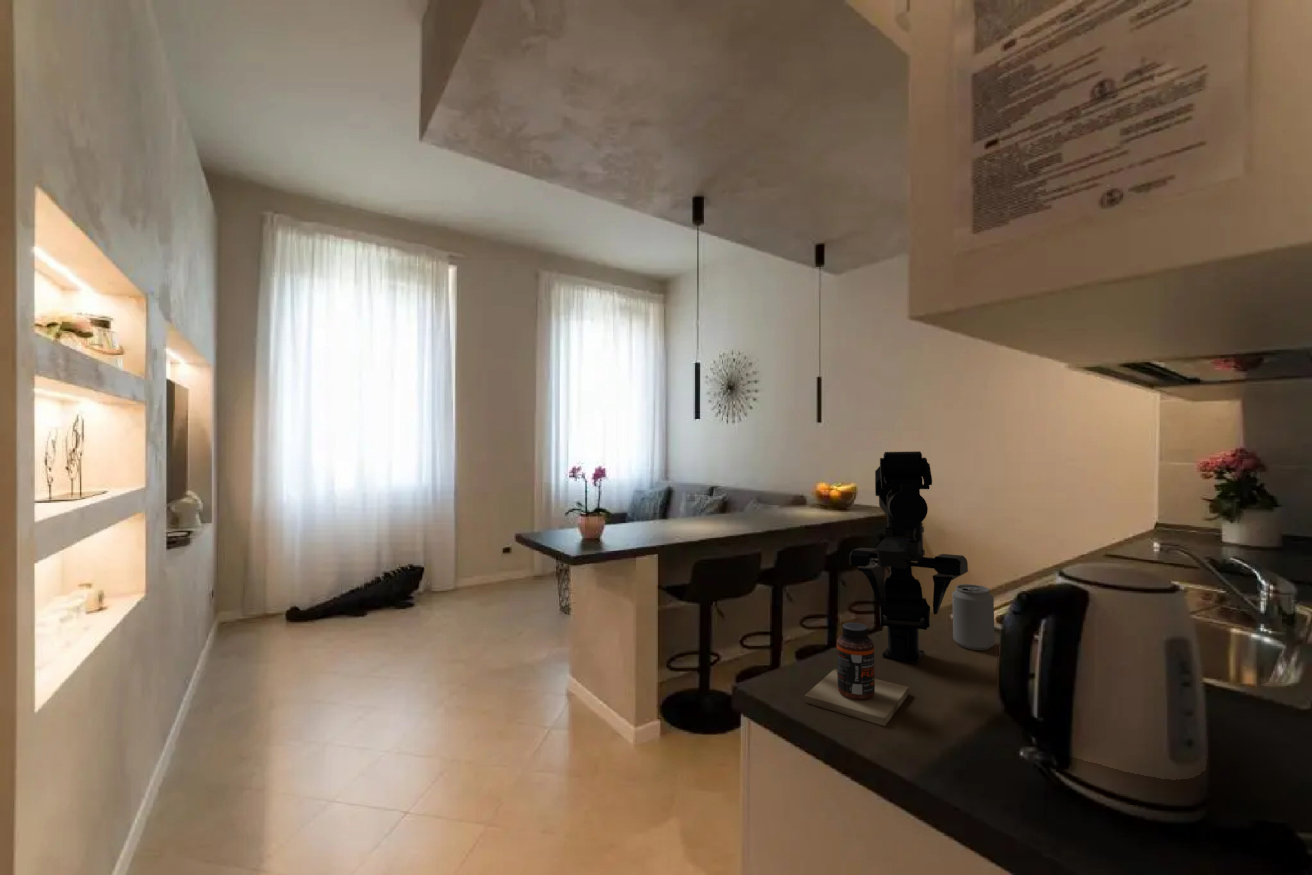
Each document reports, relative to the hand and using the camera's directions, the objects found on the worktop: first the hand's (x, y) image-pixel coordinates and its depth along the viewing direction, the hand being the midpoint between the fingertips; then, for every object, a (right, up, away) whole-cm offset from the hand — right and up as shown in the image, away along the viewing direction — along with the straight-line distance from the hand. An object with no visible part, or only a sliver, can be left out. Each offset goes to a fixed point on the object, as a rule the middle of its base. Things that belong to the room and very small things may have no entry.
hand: (907, 609), depth 100 cm
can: (+21, -13, +17) cm, 30 cm away
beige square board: (-11, -14, -5) cm, 18 cm away
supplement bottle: (-11, -13, -5) cm, 18 cm away
